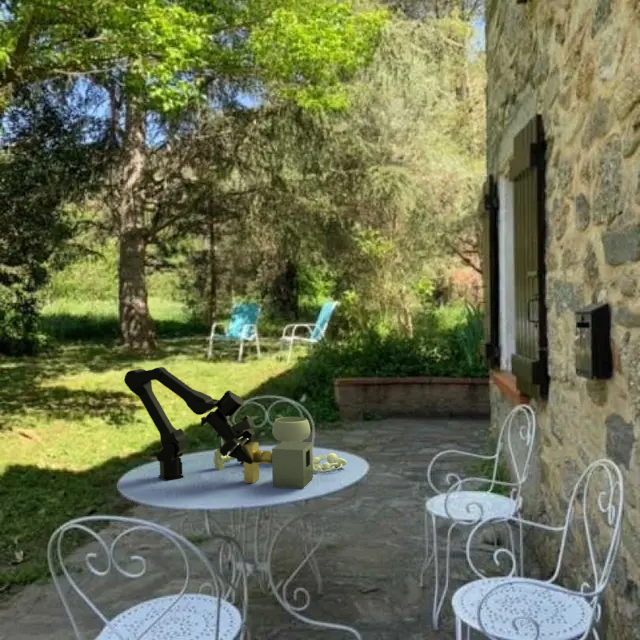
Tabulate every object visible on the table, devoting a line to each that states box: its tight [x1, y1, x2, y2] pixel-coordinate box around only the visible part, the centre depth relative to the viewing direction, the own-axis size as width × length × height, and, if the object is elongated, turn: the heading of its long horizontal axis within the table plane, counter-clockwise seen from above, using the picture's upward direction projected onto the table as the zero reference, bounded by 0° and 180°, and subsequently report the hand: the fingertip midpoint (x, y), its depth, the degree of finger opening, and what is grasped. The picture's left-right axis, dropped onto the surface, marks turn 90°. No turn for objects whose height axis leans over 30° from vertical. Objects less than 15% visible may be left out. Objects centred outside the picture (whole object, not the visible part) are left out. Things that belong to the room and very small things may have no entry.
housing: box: [271, 441, 314, 489], centre depth 215 cm, size 10×12×12 cm
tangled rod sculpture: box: [313, 452, 348, 473], centre depth 233 cm, size 19×14×4 cm
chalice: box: [271, 416, 311, 443], centre depth 248 cm, size 14×14×15 cm
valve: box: [212, 448, 244, 471], centre depth 239 cm, size 7×7×12 cm
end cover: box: [243, 441, 272, 484], centre depth 218 cm, size 11×6×12 cm, turn 77°
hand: (255, 461), depth 218 cm, fingers closed on end cover, 6 cm apart
